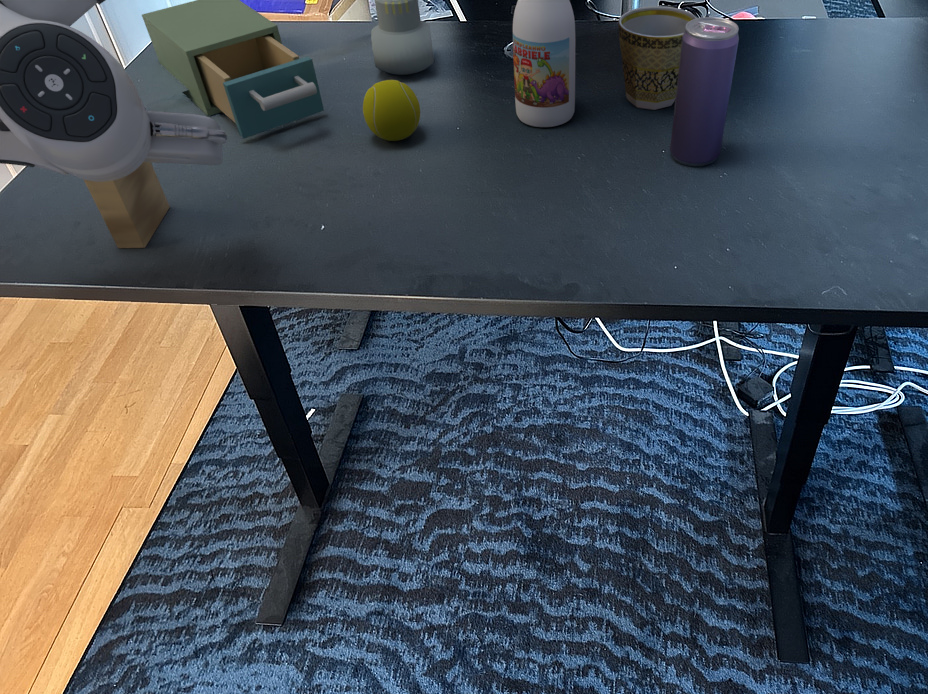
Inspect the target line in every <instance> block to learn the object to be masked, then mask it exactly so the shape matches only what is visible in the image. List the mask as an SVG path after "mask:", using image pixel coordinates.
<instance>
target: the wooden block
mask: <svg viewBox="0 0 928 694" xmlns="http://www.w3.org/2000/svg"><path fill="white" fill-rule="evenodd" d="M82 180H83V182H84V183H85V185H86V187H87V190H88V192H89V194H90V195H91V198H92V200H93V202H94V204H95V206H96V207H97V209H98V212H99V213H100V215H101V217H102V219H103V222H104V223H105V226H106V227H107V229H108V231H109V233H110V236H111V238H112V239H113V241H114V244H115V245H116V247H117V249H145V248H146V247H147V245H148V244H149V242H150V241H151V240H152V237H153V236H154V234H155V232H156V230H157V229H158V227H159V226H160V224H161V222H162V221H163V219H164V218H165V216H166V215H167V213H168V211H169V209H170V204H169V201H168V198H167V197H166V194H165V192H164V190H163V187H162V185H161V182H160V180H159V178H158V175H157V173H156V171H155V169H154V166H153V163H152V162H143V163H142V164H141V165H140V166H139V167H138V168H137V169H136V170H135V171H134V172H132V173H131V174H129V175H127V176H125V177H123V178H120V179H117V180H113V181H105V182H97V181H89V180H84V179H82Z"/></svg>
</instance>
